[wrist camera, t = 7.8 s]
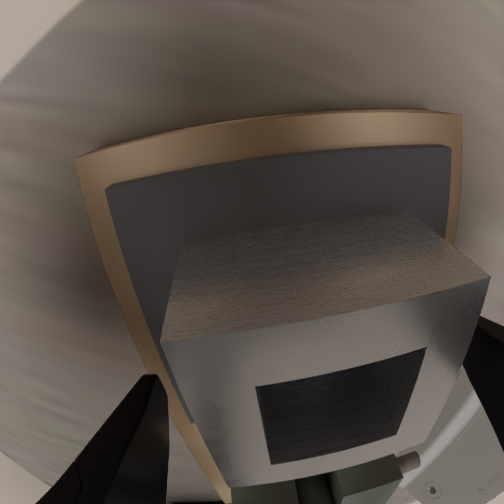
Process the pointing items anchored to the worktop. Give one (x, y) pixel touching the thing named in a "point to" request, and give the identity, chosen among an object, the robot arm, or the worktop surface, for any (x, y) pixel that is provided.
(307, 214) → the mat
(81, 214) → the worktop surface
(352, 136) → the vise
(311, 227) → the collar
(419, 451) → the grey arched bracket
